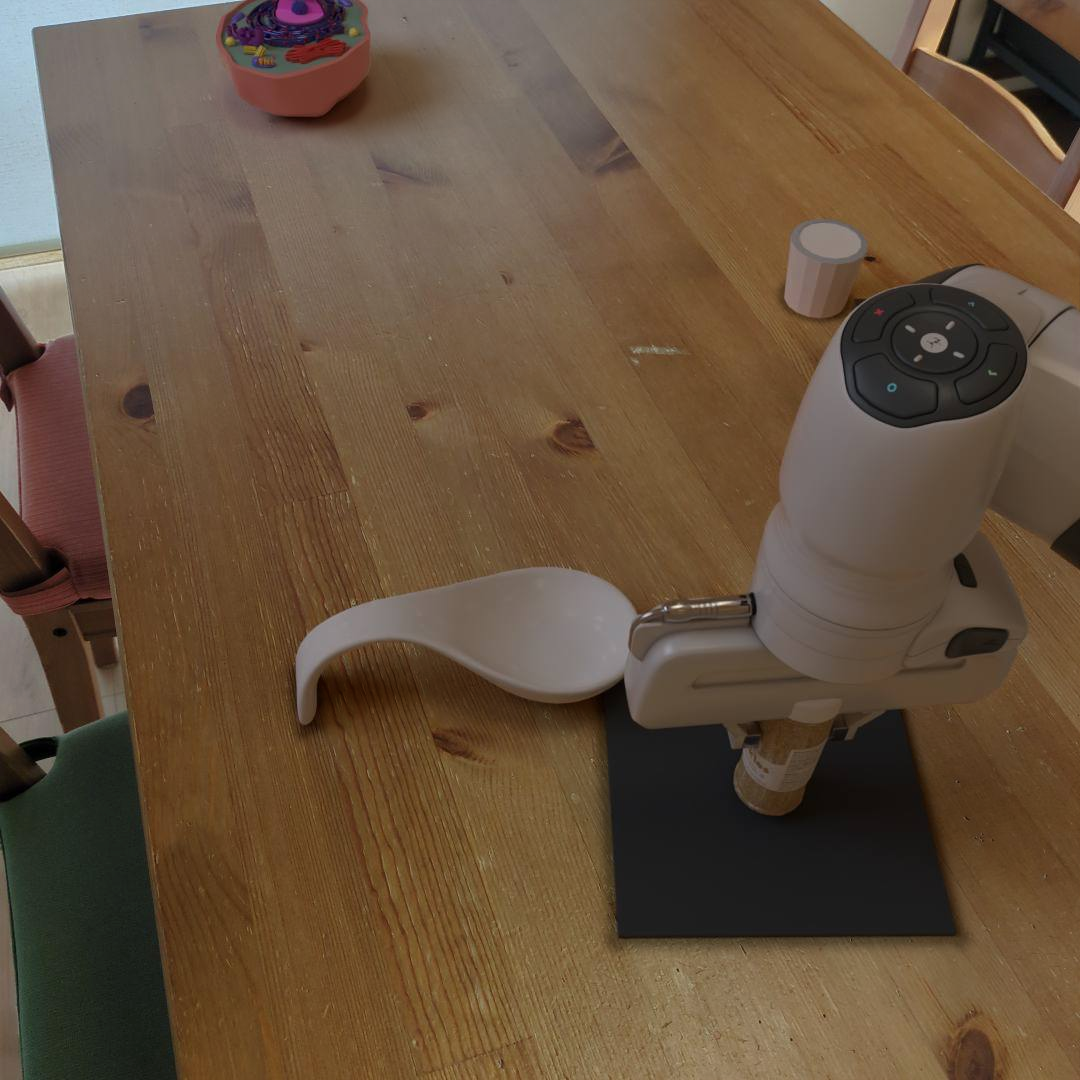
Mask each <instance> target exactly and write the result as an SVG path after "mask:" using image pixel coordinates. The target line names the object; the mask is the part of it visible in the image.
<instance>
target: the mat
mask: <svg viewBox="0 0 1080 1080" xmlns="http://www.w3.org/2000/svg"><path fill="white" fill-rule="evenodd" d="M603 704H604V705H603V706H604V720H605V721H604V722H605V737H606V738H605V739H606V754H607V755H606V756H607V757H606V758H607V770H608V771H607V773H608V788H609V790H608V791H609V804H610V805H609V806H610V807H609V808H610V823H611V825H610V826H611V840H612V856H613V857H612V858H613V874H614V891H615V906H616V924H617V925H616V926H617V938H618V939H703V938H705V939H707V938H709V939H712V938H714V939H715V938H718V939H719V938H720V939H721V938H723V939H724V938H726V939H727V938H844V937H845V938H849V937H850V938H853V937H854V938H855V937H856V938H857V937H858V938H859V937H861V938H862V937H866V938H867V937H869V938H871V937H955V936H956V935H958V932H957V927H956V923H955V920H954V915H953V912H952V908H951V904H950V899H949V896H948V892H947V888H946V884H945V881H944V876H943V872H942V868H941V865H940V861H939V858H938V853H937V849H936V844H935V841H934V837H933V833H932V829H931V825H930V822H929V817H928V813H927V810H926V806H925V801H924V799H923V794H922V790H921V787H920V782H919V778H918V775H917V771H916V767H915V763H914V759H913V756H912V751H911V748H910V744H909V740H908V736H907V731H906V728H905V724H904V721H903V716H902V712H901V709H894V710H886V711H885V713H883V714H881V715H879V716H878V717H876V718H874V719H873V720H871V721H869V722H867V723H866V724H864V725H862V726H861V727H858V728H857V730H856V733H855V735H854V737H853V739H851V740H837V741H826V743H825V745H824V748H823V750H822V752H821V755H820V757H819V759H818V762H817V764H816V766H815V769H814V771H813V773H812V775H811V777H810V779H809V780H808V782H807V784H806V786H805V792H804V795H803V798H802V801H801V803H800V804H799V805H798V806H797V807H796V808H795V809H794V810H792V811H791V812H788V813H786V814H784V815H781V816H771V815H764V814H761V813H758V812H756V811H755V810H752V809H750V808H749V807H748V806H747V805H746V804H745V803H744V802H743V801H742V800H741V799H740V798H739V796H738V794H737V792H736V791H735V786H734V772H735V768H736V766H737V764H738V762H739V761H740V759H741V756H742V753H743V749H741V748H740V749H732V748H731V744H730V740H729V736H728V731H727V729H726V728H725V727H724V726H723V723H722V724H709V725H697V726H685V727H672V728H661V729H647V728H644V727H642V726H641V725H639V724H638V723H637V722H635V721H634V720H633V719H632V717H631V714H630V710H629V705H628V700H627V695H626V688H625V680H624V678H623V679H622V680H620V681H619V682H618V683H617V684H615V685H614V686H613V687H611V688H609V689H607V690H606V691H604V692H603Z"/></svg>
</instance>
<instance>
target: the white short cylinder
mask: <svg viewBox="0 0 1080 1080" xmlns="http://www.w3.org/2000/svg"><path fill="white" fill-rule="evenodd" d="M868 243H869V242H868V239H867V238H866V236H865V235H864V234H863V232H862V231H860V230H859V229H857V227H855V226H853V225H852V224H850V223H846V222H843V221H841V220H838V219H831V218H815V219H808V220H805V221H803V222H801V223H799V224H797V225H796V226H795V228H794V229H793V230H792V231H791V234H790V243H789V250H788V251H789V252H788V259H787V260H788V261H787V268H786V269H787V270H786V279H785V286H784V301H785V303H786V304H787V306H788V308H790V309H792V310H793V311H794V312H796V313H797V314H799V315H802V316H805V317H807V318H815V319H827V318H833V317H835V316H837V315H839V314H840V313H842V311H843V310H844V308H845V307H846V305H847V302H848V300H849V297H850V295H851V292H852V290H853V287H854V285H855V282H856V280H857V277H858V275H859V272H860V270H861V268H862V265H863V263H864V260H865V258H866V255H867V254H868V251H869V244H868Z"/></svg>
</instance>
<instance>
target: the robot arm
mask: <svg viewBox="0 0 1080 1080" xmlns="http://www.w3.org/2000/svg"><path fill="white" fill-rule="evenodd" d="M866 299H867V300H865V301H864V302H862V303H861V304H860V305H859V306H857V307H856V308H855V309H854V310H853V311H852V312H851V313H850V312H849V314H848V315H847V316H846V317H845V318H844V320H843V321H842V322H841V324H840V325H839V326H838V328H837V330H836V331H835V332H834V334H833V336H832V337H831V339H830V341H829V343H828V345H827V346H826V348H825V350H824V352H823V353H822V356H821V357H820V360H819V362H818V364H817V365H816V368H815V370H814V372H813V374H812V376H811V378H810V380H809V383H808V385H807V388H806V390H805V391H804V395H803V397H802V400H801V403H800V404H799V407H798V410H797V413H796V415H795V418H794V421H793V423H792V427H791V430H790V433H789V436H788V439H787V443H786V446H785V449H784V453H783V456H782V461H781V465H780V469H779V474H778V475H779V476H778V491H779V498H780V499H779V500H778V502H777V503H776V504H775V505H774V506H773V508H772V510H771V512H770V514H769V516H768V517H767V519H766V522H765V526H764V528H763V531H762V536H761V540H760V543H759V547H758V551H757V555H756V559H755V563H754V566H753V570H752V575H751V578H750V582H749V585H748V589H747V593H741V594H740V593H739V594H726V595H717V596H708V597H706V596H705V597H691V598H674V599H669V600H665V601H662V603H660V604H658V605H656V606H655V607H653V608H652V609H650V610H649V611H646V612H644V613H640V614H638V615H637V616H636V617H635V618H634V619H633V621H632V623H631V628H630V632H629V640H628V648H629V653H628V656H627V660H626V664H625V669H624V680H625V688H626V695H627V700H628V705H629V710H630V714H631V717H632V719H633V720H634V721H635V722H637V723H638V724H639V725H641V726H642V727H644V728H647V729H661V728H672V727H685V726H697V725H709V724H722V723H723V726H724V727H725V728H726V729H727V731H728V736H729V740H730V744H731V748H732V749H740V748H741V749H743V748H752V747H758V741H760V738H761V735H762V734H761V730H760V726H759V724H758V723H757V722H756V721H759V720H771V719H784V718H788V717H789V716H790V715H791V713H792V710H793V707H794V705H795V703H797V702H800V701H807V700H818V699H831V698H840V699H842V700H843V702H842V705H841V707H840V709H839V713H838V714H837V715H836V717H835V719H834V721H833V724H832V727H831V731H830V734H829V736H828V739H827V741H837V740H851V739H853V737H854V735H855V733H856V730H857V728H858V727H861V726H862V725H864V724H866V723H867V722H869V721H871V720H873V719H874V718H876V717H878V716H879V715H881V714H883V713H885V711H886V710H894V709H900V710H903V709H907V710H908V709H916V708H917V709H918V708H930V707H931V708H933V707H943V706H954V705H969V704H975V703H977V702H980V701H982V700H984V699H986V698H989V697H990V696H992V695H994V694H995V693H996V692H997V691H999V689H1001V686H1002V685H1003V684H1004V682H1005V681H1006V679H1007V678H1008V676H1009V674H1010V672H1011V670H1012V667H1013V666H1014V664H1015V661H1016V659H1017V656H1018V647H1019V646H1020V645H1021V644H1022V643H1023V642H1024V640H1025V639H1026V638H1027V636H1028V634H1029V631H1030V626H1029V624H1028V620H1027V616H1026V613H1025V610H1024V608H1023V605H1022V602H1021V600H1020V596H1019V595H1018V592H1017V589H1016V587H1015V585H1014V582H1013V580H1012V578H1011V577H1010V574H1009V572H1008V571H1007V569H1006V566H1005V565H1004V563H1003V561H1002V559H1001V557H1000V555H999V553H998V552H997V550H996V549H995V547H994V546H993V544H992V543H991V541H990V539H989V538H988V536H987V535H986V533H984V531H981V530H979V528H980V526H981V524H982V522H983V520H984V518H985V515H986V514H987V511H988V510H991V511H993V512H995V513H996V514H997V515H999V516H1001V517H1003V518H1004V519H1006V520H1007V521H1009V522H1011V523H1013V524H1015V525H1016V526H1018V527H1019V528H1021V529H1022V530H1024V531H1026V532H1028V533H1029V534H1030V535H1033V536H1034V537H1035V538H1038V539H1039V540H1041V541H1042V542H1044V543H1046V544H1048V545H1049V546H1050V547H1049V550H1051V551H1052V552H1054V553H1055V554H1056V555H1058V556H1059V557H1061V558H1062V559H1063V560H1065V561H1066V562H1067V563H1069V564H1071V566H1073V567H1074V568H1075V569H1077V570H1079V571H1080V310H1079V308H1078V307H1077V306H1076V305H1075V304H1072V303H1071V302H1069V301H1066V300H1064V299H1063V298H1061V297H1058V296H1057V295H1054V294H1052V293H1050V292H1048V291H1046V290H1044V289H1041V288H1039V287H1037V286H1035V285H1033V284H1031V283H1029V282H1027V281H1025V280H1023V279H1021V278H1019V277H1017V276H1014V275H1012V274H1010V273H1008V272H1005V271H1003V270H999V269H996V268H993V267H989V266H987V265H985V264H983V263H979V262H978V263H968V264H962V265H959V266H958V265H957V266H954V267H950V268H947V269H944V270H941V271H938V272H935V273H932V274H930V275H927V276H925V277H922V278H920V279H918V280H914V281H913V282H911V283H908V284H904V285H903V284H902V285H898V286H895V287H890V288H887V289H885V290H883V291H880V292H877V293H875V294H873V295H872V296H870V297H868V298H866Z"/></svg>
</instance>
